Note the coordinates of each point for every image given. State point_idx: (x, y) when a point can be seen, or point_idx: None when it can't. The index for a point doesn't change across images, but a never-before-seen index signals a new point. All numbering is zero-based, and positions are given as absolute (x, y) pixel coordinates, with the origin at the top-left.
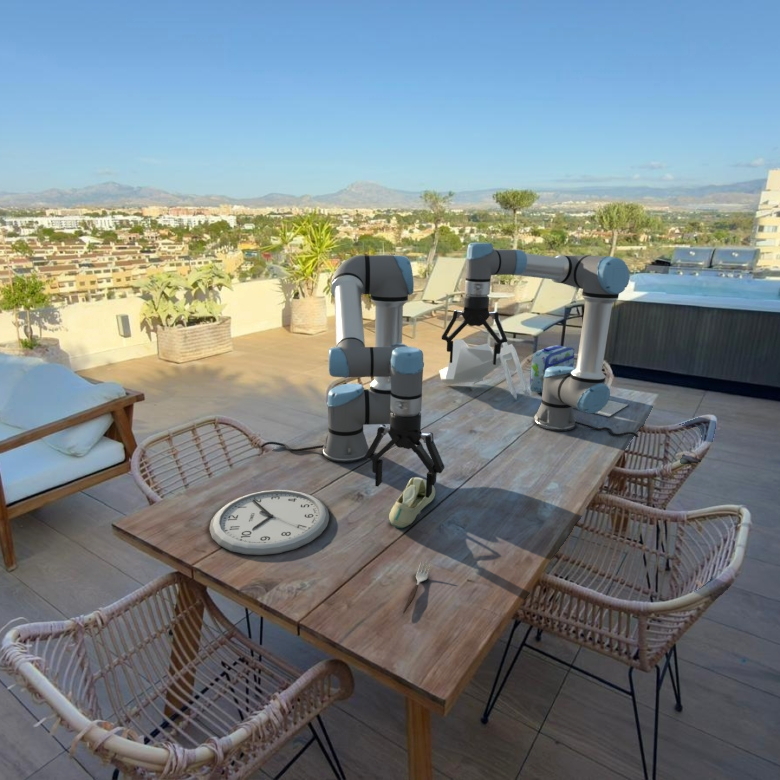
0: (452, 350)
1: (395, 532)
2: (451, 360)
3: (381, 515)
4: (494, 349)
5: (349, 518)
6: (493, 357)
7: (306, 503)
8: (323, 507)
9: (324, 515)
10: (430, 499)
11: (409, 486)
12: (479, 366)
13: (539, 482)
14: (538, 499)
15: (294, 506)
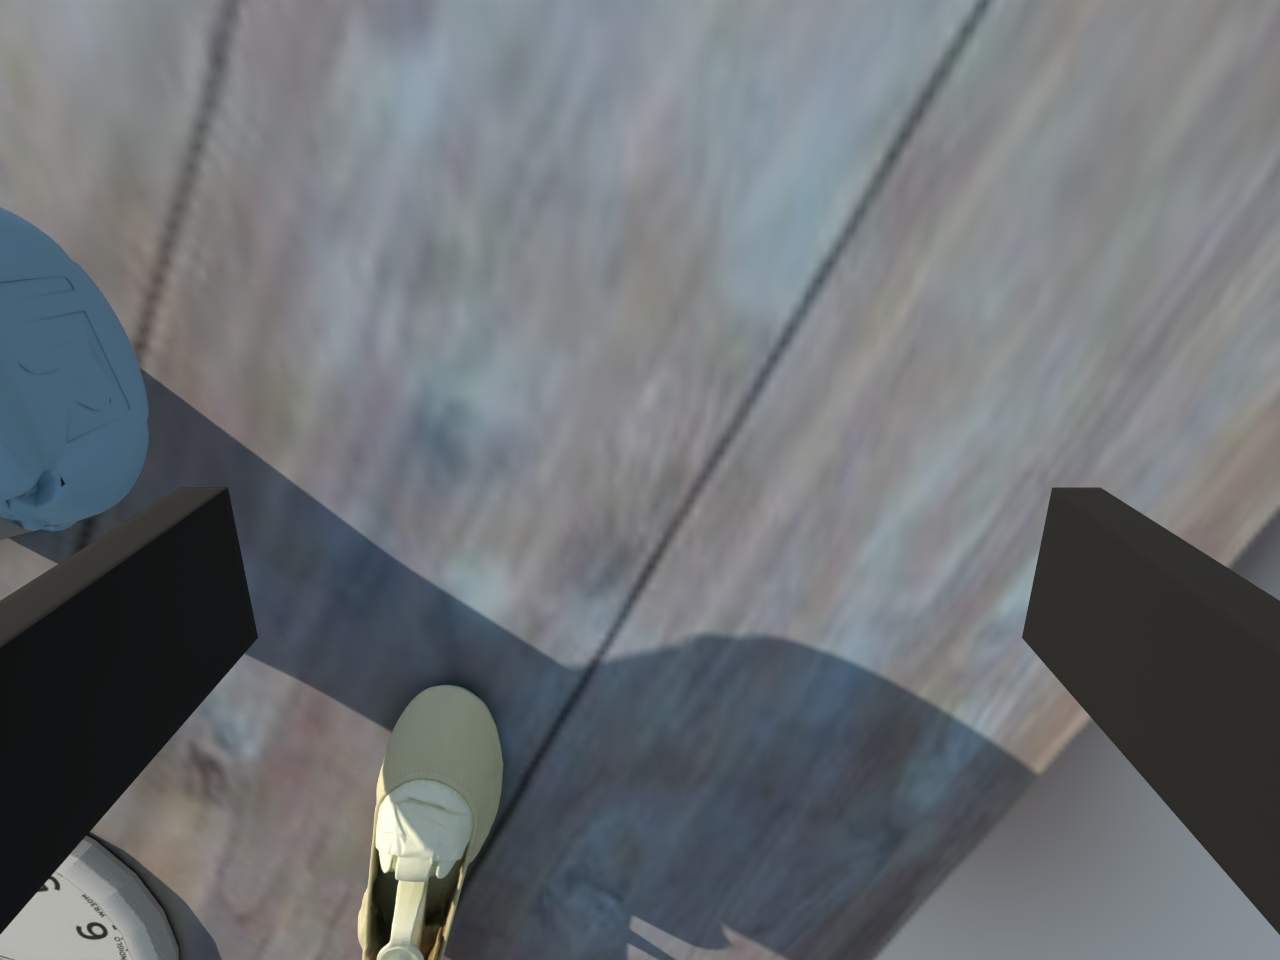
0: (93, 820)
1: None
2: (221, 663)
3: (331, 870)
4: (1235, 868)
5: (230, 897)
6: (1108, 623)
7: None
8: (114, 895)
9: (142, 934)
10: (487, 829)
11: (389, 944)
12: None
13: (982, 560)
14: (930, 702)
15: None
